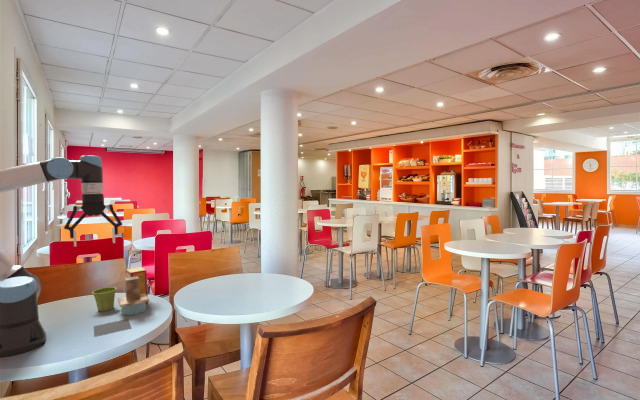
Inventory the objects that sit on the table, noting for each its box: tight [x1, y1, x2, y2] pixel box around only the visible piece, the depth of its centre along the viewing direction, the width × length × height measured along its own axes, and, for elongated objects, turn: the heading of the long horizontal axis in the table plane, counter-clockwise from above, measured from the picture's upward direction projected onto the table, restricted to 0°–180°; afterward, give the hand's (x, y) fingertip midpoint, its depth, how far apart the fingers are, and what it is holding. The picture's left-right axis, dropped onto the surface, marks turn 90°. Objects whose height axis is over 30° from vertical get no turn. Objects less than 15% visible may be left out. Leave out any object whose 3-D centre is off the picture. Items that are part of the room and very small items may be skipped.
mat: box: [93, 318, 132, 338], centre depth 137 cm, size 12×12×1 cm
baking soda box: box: [125, 266, 149, 304], centre depth 167 cm, size 10×6×16 cm
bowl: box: [120, 302, 147, 316], centre depth 154 cm, size 9×9×5 cm
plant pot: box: [91, 286, 117, 312], centre depth 159 cm, size 9×9×9 cm
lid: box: [117, 276, 150, 308], centre depth 154 cm, size 11×11×10 cm
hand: (95, 244), depth 147 cm, fingers open, 13 cm apart
